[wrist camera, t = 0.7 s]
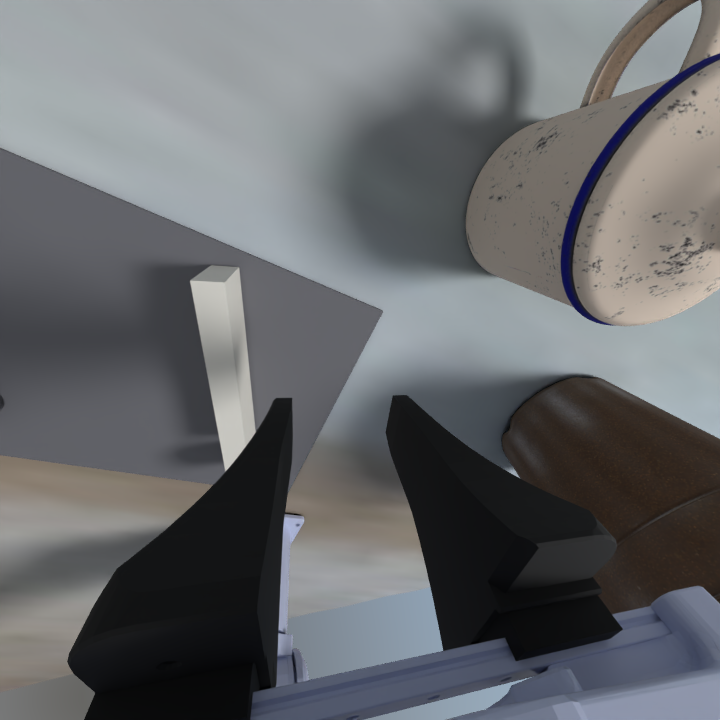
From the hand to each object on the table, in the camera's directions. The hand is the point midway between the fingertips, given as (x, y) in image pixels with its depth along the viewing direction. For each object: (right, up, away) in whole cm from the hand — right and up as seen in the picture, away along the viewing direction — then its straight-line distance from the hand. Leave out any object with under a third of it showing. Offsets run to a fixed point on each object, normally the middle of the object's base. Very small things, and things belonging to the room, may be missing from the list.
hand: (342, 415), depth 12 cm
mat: (-12, +1, +8) cm, 14 cm away
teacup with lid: (+11, +13, +6) cm, 19 cm away
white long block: (-8, +2, +8) cm, 11 cm away
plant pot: (+21, -4, +18) cm, 28 cm away
